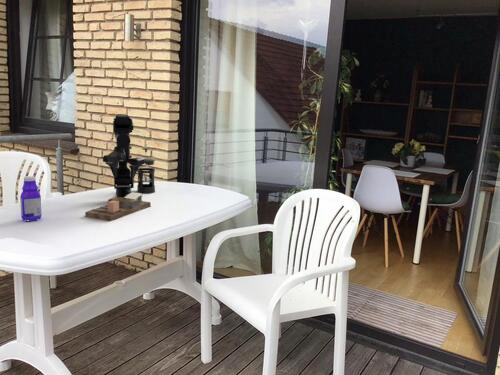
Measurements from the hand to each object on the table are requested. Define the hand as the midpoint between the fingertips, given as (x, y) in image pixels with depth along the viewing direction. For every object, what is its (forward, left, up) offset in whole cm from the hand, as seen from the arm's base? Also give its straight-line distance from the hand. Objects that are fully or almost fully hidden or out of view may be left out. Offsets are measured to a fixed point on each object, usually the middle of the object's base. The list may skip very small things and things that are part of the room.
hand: (123, 179), depth 204 cm
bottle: (-18, -35, -13) cm, 41 cm away
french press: (-10, +32, -13) cm, 36 cm away
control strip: (+3, -7, -13) cm, 15 cm away
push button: (+3, -4, -11) cm, 12 cm away
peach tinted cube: (+6, -15, -11) cm, 20 cm away
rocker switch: (+3, +3, -8) cm, 10 cm away
